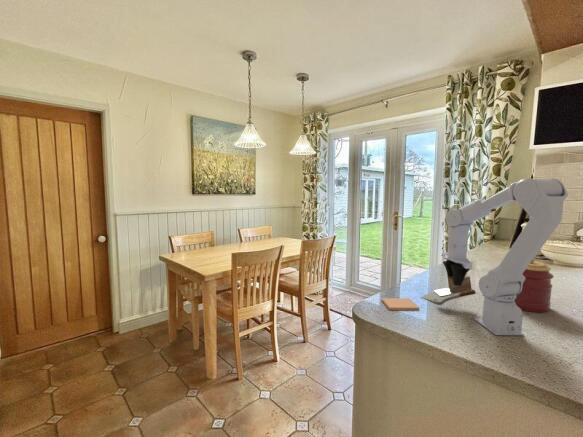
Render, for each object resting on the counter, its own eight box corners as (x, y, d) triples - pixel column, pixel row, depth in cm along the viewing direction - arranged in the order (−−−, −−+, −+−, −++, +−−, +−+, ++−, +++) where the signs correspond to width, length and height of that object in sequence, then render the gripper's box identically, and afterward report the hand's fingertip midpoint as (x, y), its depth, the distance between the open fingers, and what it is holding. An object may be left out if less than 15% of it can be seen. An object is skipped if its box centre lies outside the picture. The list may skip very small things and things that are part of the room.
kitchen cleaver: (457, 285, 119) (481, 291, 110) (457, 287, 120) (481, 294, 110) (414, 294, 109) (436, 302, 100) (414, 297, 110) (436, 305, 100)
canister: (531, 315, 93) (536, 261, 91) (493, 300, 105) (497, 252, 103) (559, 310, 96) (565, 259, 94) (520, 296, 108) (524, 250, 107)
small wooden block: (473, 291, 97) (471, 277, 96) (440, 297, 97) (438, 283, 96) (464, 286, 102) (463, 273, 101) (433, 292, 102) (431, 278, 101)
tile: (419, 307, 96) (389, 307, 96) (419, 311, 96) (389, 311, 96) (409, 298, 104) (381, 298, 104) (409, 301, 104) (381, 301, 104)
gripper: (435, 240, 105) (433, 276, 106) (457, 249, 90) (454, 290, 92) (454, 240, 105) (452, 276, 106) (480, 249, 90) (477, 291, 92)
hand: (454, 283), depth 99 cm, fingers closed on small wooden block, 3 cm apart
